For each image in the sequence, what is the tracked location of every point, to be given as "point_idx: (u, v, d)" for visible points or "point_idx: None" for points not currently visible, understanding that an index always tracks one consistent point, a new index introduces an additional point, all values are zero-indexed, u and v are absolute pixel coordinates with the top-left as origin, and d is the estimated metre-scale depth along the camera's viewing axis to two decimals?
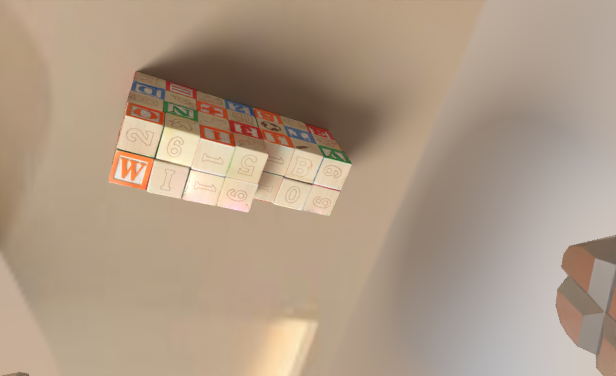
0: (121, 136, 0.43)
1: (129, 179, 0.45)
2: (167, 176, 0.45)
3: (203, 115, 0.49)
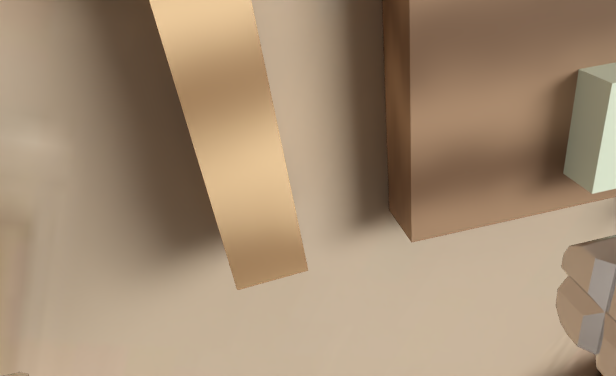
0: None
1: None
2: None
3: None
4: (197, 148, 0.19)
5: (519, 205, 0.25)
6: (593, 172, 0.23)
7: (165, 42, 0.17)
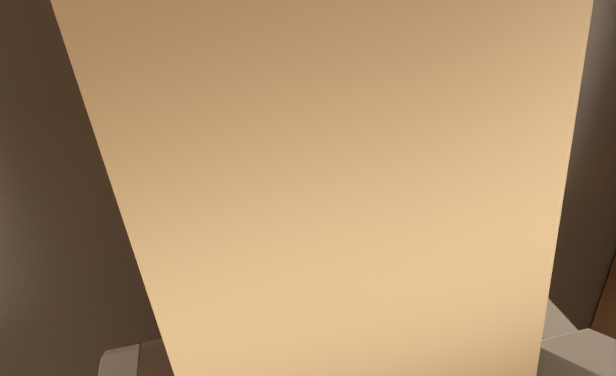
0: None
1: None
2: None
3: None
4: None
5: None
6: None
7: None
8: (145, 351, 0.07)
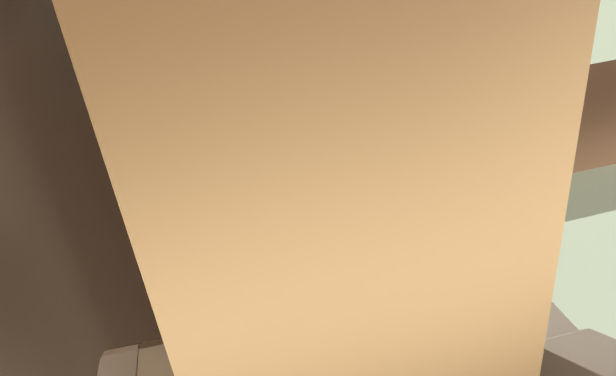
0: None
1: None
2: None
3: None
4: None
5: None
6: None
7: None
8: (144, 351, 0.07)
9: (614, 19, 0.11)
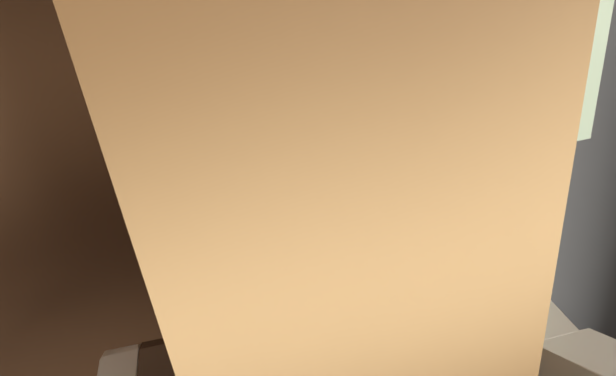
0: None
1: None
2: None
3: None
4: None
5: None
6: None
7: None
8: (144, 351, 0.07)
9: None
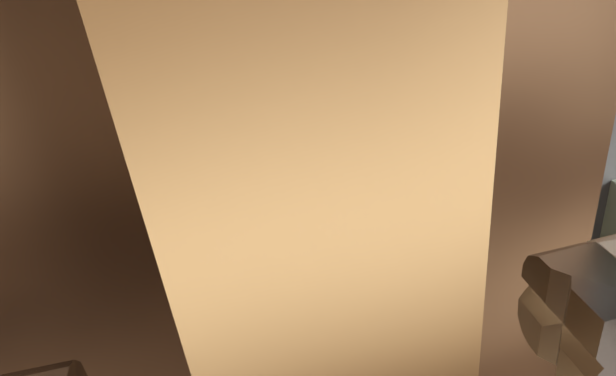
0: None
1: None
2: None
3: None
4: None
5: None
6: None
7: (196, 353, 0.05)
8: None
9: None
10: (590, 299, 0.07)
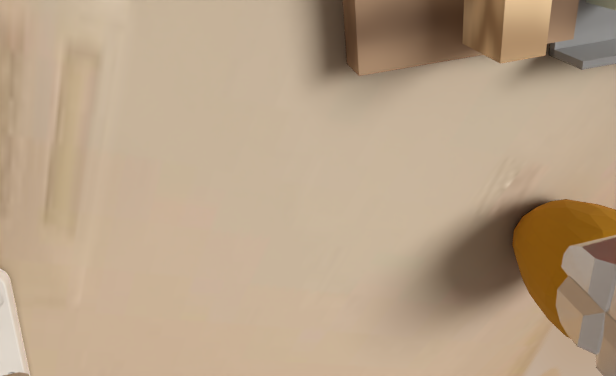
0: None
1: None
2: None
3: None
4: None
5: (434, 52, 0.37)
6: None
7: None
8: None
9: None
10: None
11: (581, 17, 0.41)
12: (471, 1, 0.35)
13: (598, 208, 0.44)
